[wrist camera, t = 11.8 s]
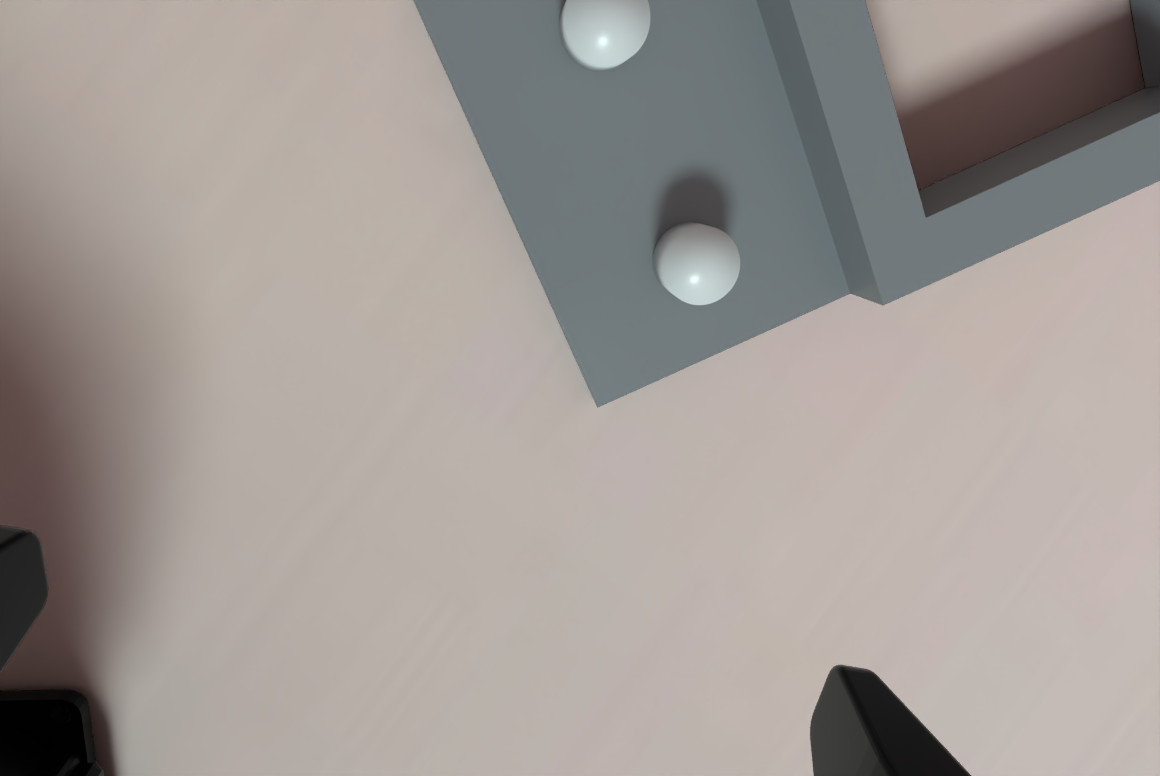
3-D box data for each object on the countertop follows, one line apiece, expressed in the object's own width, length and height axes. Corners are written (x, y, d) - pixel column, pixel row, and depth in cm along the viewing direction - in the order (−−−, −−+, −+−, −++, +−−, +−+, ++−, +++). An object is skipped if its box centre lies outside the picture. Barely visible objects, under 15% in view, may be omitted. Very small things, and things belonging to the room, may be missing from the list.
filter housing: (593, 398, 20) (607, 429, 18) (406, -15, 17) (394, -44, 15) (1208, 120, 20) (1305, 114, 18) (1135, -349, 17) (1240, -432, 15)
